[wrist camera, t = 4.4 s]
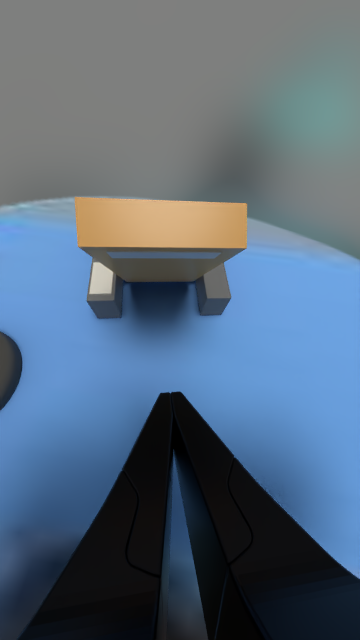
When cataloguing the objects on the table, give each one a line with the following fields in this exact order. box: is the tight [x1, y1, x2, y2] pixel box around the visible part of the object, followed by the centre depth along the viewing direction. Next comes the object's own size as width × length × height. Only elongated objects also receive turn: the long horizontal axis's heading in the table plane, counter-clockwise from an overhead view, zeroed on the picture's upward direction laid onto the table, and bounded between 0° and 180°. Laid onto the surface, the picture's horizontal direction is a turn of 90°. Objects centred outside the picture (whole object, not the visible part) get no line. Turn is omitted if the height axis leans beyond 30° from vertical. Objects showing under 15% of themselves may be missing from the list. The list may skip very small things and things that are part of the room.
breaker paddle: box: [75, 197, 247, 282], centre depth 13 cm, size 2×6×11 cm, turn 95°
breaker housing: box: [87, 258, 231, 318], centre depth 19 cm, size 10×11×3 cm
